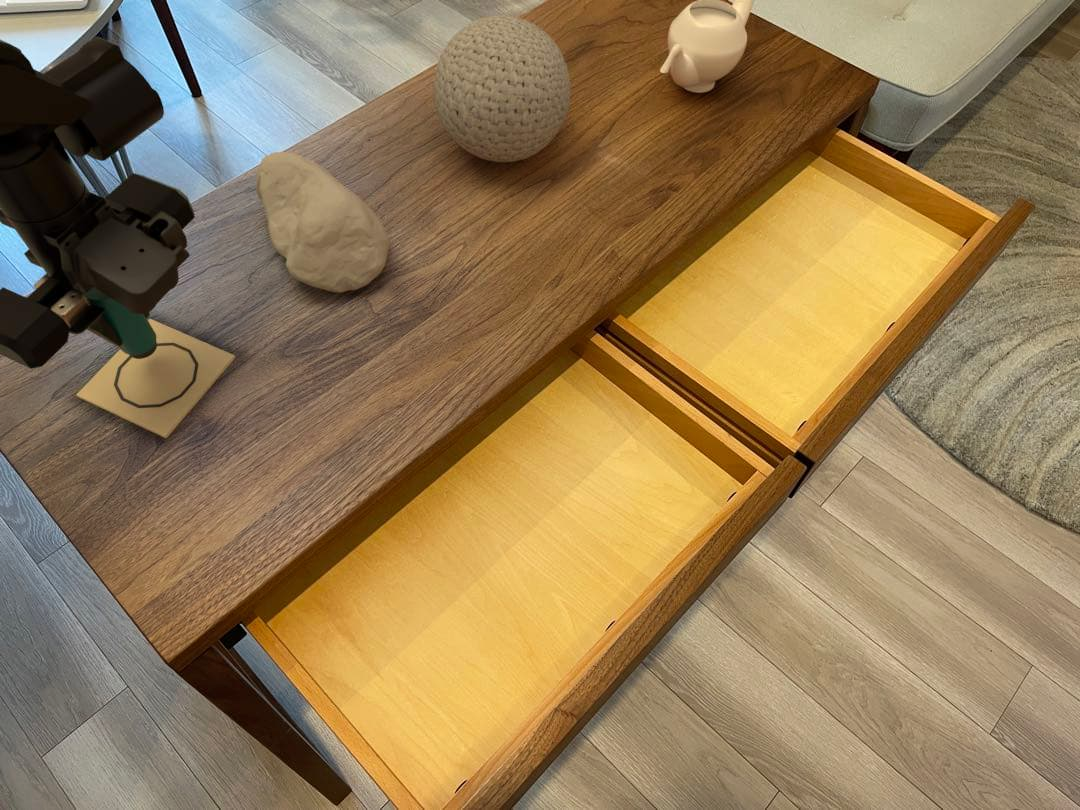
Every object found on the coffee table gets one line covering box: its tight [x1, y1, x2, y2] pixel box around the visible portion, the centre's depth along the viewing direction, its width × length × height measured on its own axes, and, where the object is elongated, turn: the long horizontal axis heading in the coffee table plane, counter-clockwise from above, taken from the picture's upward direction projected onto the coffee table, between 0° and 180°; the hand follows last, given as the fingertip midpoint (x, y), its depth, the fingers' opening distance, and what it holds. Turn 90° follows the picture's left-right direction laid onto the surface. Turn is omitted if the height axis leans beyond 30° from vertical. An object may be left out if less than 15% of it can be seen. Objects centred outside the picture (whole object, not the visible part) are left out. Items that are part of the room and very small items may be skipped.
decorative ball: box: [433, 14, 572, 163], centre depth 86 cm, size 15×15×15 cm
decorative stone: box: [255, 151, 391, 294], centre depth 80 cm, size 17×10×10 cm
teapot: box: [659, 0, 755, 94], centre depth 97 cm, size 10×20×9 cm, turn 140°
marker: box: [83, 287, 157, 359], centre depth 68 cm, size 3×3×8 cm
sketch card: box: [76, 318, 236, 439], centre depth 73 cm, size 10×10×1 cm
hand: (130, 330), depth 69 cm, fingers closed on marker, 3 cm apart
